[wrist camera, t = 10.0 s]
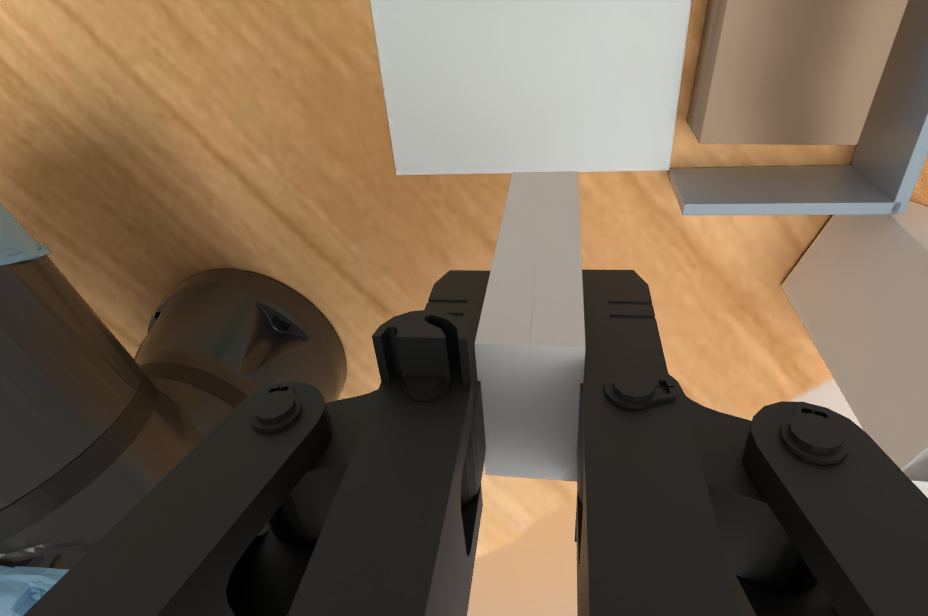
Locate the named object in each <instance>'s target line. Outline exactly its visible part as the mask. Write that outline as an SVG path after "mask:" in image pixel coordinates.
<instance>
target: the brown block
mask: <svg viewBox="0 0 928 616" xmlns="http://www.w3.org/2000/svg"><path fill="white" fill-rule="evenodd" d="M907 3H908V0H708V5H707V11H706V17H705V22H704V28H703V33H702V39H701V45H700V50H699V56H698V62H697V67H696V73H695V78H694V84H693V90H692V95H691V101H690V106H689V112H688V118H687V123H688V125H689V126H690V128H691V130H692V132H693V133H694V135H695V137H696V139H697V140H698V142H699V144H793V145H857V143H858V140H859V137H860V135H861V132H862V129H863V126H864V123H865V121H866V118H867V115H868V112H869V109H870V106H871V104H872V101H873V98H874V95H875V92H876V90H877V87H878V84H879V81H880V78H881V76H882V73H883V70H884V67H885V64H886V62H887V59H888V56H889V53H890V50H891V48H892V45H893V42H894V39H895V36H896V33H897V31H898V28H899V25H900V22H901V19H902V17H903V14H904V11H905V8H906V5H907Z"/></svg>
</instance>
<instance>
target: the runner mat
mask: <svg viewBox="0 0 928 616" xmlns="http://www.w3.org/2000/svg"><path fill="white" fill-rule="evenodd" d="M370 3H371V9H372V16H373V23H374V29H375V36H376V42H377V49H378V56H379V62H380V69H381V75H382V82H383V89H384V95H385V102H386V108H387V115H388V122H389V128H390V135H391V141H392V148H393V155H394V161H395V168H396V174H397V175H433V174H489V173H512V172H557V171H578V172H600V171H655V170H669V167H670V160H671V152H672V144H673V137H674V129H675V122H676V114H677V106H678V99H679V91H680V83H681V76H682V68H683V60H684V53H685V45H686V37H687V30H688V22H689V15H690V7H691V0H370Z"/></svg>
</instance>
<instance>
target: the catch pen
mask: <svg viewBox="0 0 928 616" xmlns="http://www.w3.org/2000/svg"><path fill="white" fill-rule="evenodd" d="M927 154H928V0H908V3H907V5H906V8H905V11H904V14H903V17H902V19H901V22H900V25H899V28H898V31H897V33H896V36H895V39H894V42H893V45H892V48H891V50H890V53H889V56H888V59H887V62H886V64H885V67H884V70H883V73H882V76H881V78H880V81H879V84H878V87H877V90H876V92H875V95H874V98H873V101H872V104H871V106H870V109H869V112H868V115H867V118H866V121H865V123H864V126H863V129H862V132H861V135H860V137H859V141H858V144H857V147H856V150H855V153H854V156H853V160H852V163H851V165H822V166H768V167H714V168H670V174H669V180H670V183H671V185H672V188H673V191H674V193H675V196H676V198H677V201H678V204H679V206H680V209H681V212H682V214H683V215H870V214H904V213H905V211H906V208H907V205H908V203H909V200H910V198H911V195H912V193H913V190H914V188H915V185H916V182H917V180H918V177H919V175H920V172H921V170H922V167H923V165H924V162H925V159H926V157H927Z"/></svg>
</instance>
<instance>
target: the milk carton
mask: <svg viewBox="0 0 928 616" xmlns="http://www.w3.org/2000/svg"><path fill="white" fill-rule="evenodd" d="M781 287H782V289H783V291H784V292H785V294H786V296H787V298H788V299H789V301H790V303H791V305H792V306H793V308H794V310H795V312H796V313H797V315H798V317H799V319H800V320H801V322H802V324H803V326H804V327H805V329H806V331H807V332H808V334H809V336H810V338H811V339H812V341H813V343H814V345H815V346H816V348H817V350H818V352H819V353H820V355H821V357H822V359H823V360H824V362H825V364H826V365H827V367H828V369H829V371H830V372H831V374H832V376H833V378H834V379H835V381H836V383H837V384H838V386H839V388H840V390H841V391H842V393H843V395H844V397H845V398H846V400H847V402H848V404H849V405H850V407H851V409H852V411H853V412H854V414H855V416H856V418H857V419H858V421H859V423H860V425H861V426H862V428H863V430H864V431H865V432H866V433H867V434H868V435H869V436H870V437H871V438H872V439H873V440H874V441H875V442H876V443H877V445H878V446H879V447H880V448H881V449H882V450H883V451H884V452H885V453H886V454H887V455H888V456H889V457H890V458H891V460H892V461H893V462H894V463H895V464H896V465H897V466H898V467H899V468H900V469H901V470H902V471H903V472H904V473H905V474H906V476H907V477H908V478H909V479H910V480H911V481H912V482H913V483H914V484H915V485H916V486H917V487H920V488H923V489H926V490H928V206H925V205H922V204H918V203H915V202H912V201H909V203H908V205H907V208H906V211H905V213H904V214H870V215H833V216H832V217H831V219H830V220H829V221H828V223H827V224H826V225H825V227H824V228H823V229H822V231H821V232H820V234H819V235H818V236H817V238H816V239H815V240H814V242H813V243H812V244H811V246H810V247H809V248H808V250H807V251H806V253H805V254H804V255H803V257H802V258H801V259H800V261H799V262H798V263H797V265H796V266H795V267H794V269H793V270H792V272H791V273H790V274H789V276H788V277H787V278H786V280H785V281H784V282H783V284H782V285H781Z"/></svg>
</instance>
